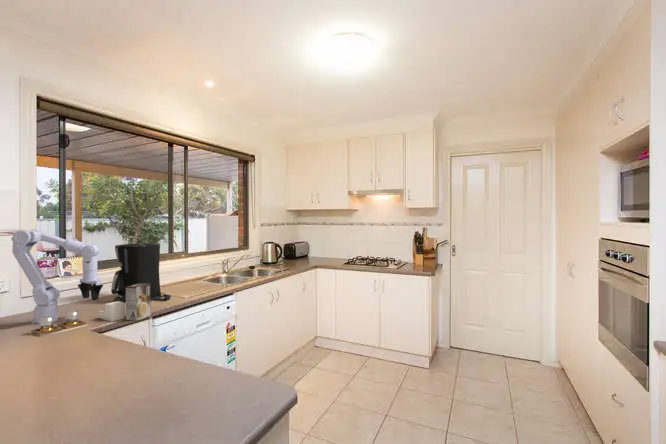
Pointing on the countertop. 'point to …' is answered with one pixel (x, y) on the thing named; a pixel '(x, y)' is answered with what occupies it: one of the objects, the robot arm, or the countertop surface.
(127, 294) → the coffee box
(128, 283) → the coffee maker
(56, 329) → the seat board
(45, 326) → the sleeve
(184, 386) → the countertop surface
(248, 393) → the countertop surface
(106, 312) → the feeder
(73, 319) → the sleeve
